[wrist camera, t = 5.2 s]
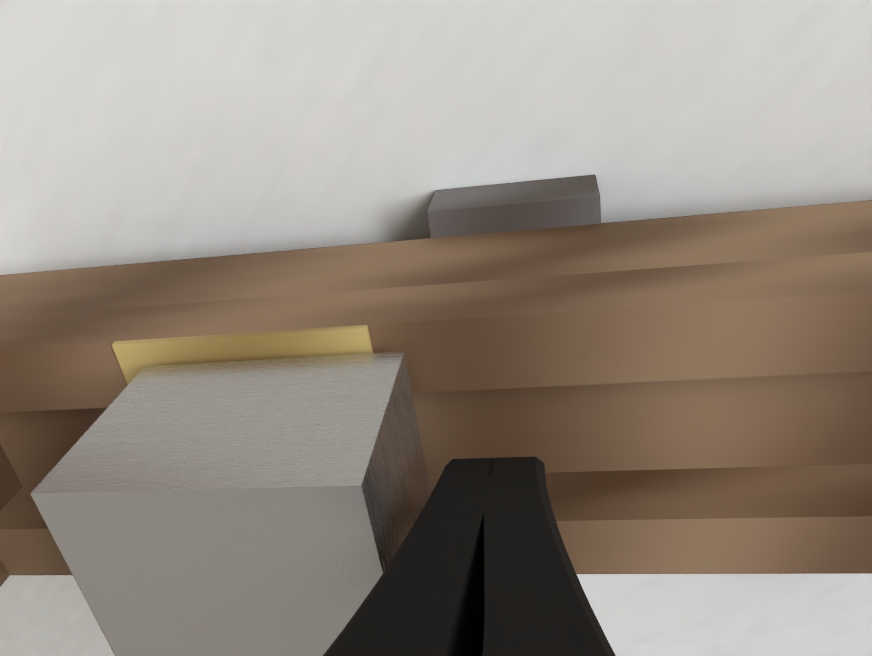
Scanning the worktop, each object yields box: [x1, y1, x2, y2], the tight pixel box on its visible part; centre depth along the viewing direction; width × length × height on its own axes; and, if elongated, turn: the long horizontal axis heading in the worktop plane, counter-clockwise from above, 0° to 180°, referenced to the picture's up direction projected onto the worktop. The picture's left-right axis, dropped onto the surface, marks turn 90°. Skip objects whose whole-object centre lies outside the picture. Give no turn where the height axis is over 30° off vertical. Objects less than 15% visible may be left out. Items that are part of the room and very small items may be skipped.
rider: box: [31, 352, 431, 656], centre depth 11 cm, size 4×4×4 cm
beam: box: [0, 175, 872, 586], centre depth 13 cm, size 22×6×6 cm, turn 98°
